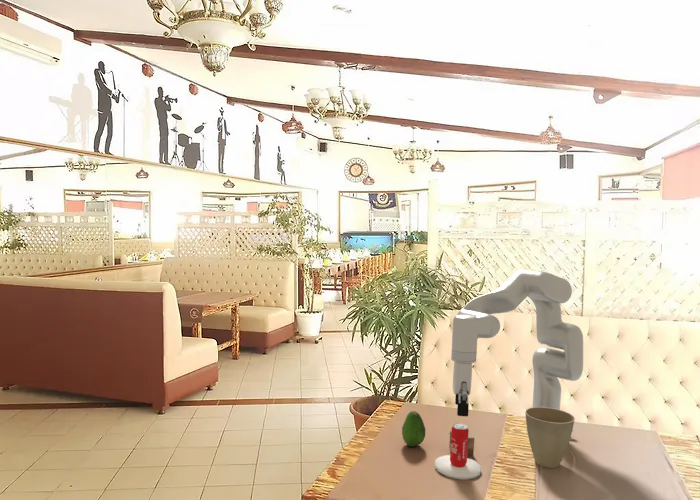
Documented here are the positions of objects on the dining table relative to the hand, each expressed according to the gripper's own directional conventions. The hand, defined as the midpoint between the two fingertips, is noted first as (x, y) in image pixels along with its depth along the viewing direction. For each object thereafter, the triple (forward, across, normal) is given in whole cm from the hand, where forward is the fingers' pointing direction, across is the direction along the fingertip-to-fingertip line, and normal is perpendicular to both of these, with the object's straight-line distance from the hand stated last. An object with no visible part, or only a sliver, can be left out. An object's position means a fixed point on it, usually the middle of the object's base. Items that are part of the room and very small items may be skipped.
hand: (461, 410), depth 164 cm
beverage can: (+18, 0, 0) cm, 18 cm away
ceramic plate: (+18, 0, 0) cm, 19 cm away
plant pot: (+19, -10, +29) cm, 36 cm away
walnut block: (+19, -12, +2) cm, 23 cm away
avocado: (+19, -14, -14) cm, 27 cm away
